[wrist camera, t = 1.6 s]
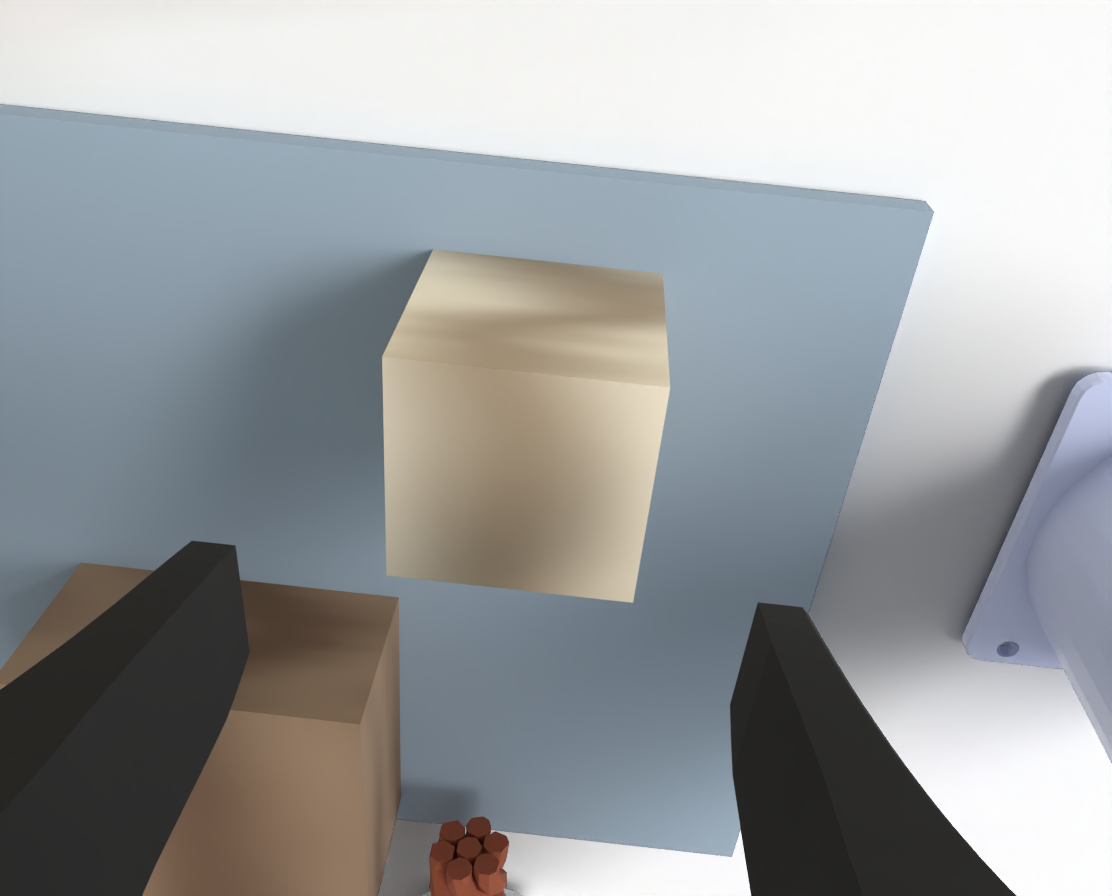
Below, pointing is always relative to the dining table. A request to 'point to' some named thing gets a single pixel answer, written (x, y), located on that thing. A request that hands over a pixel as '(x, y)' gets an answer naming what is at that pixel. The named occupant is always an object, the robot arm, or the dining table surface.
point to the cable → (469, 861)
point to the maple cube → (524, 424)
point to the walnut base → (277, 742)
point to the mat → (358, 433)
